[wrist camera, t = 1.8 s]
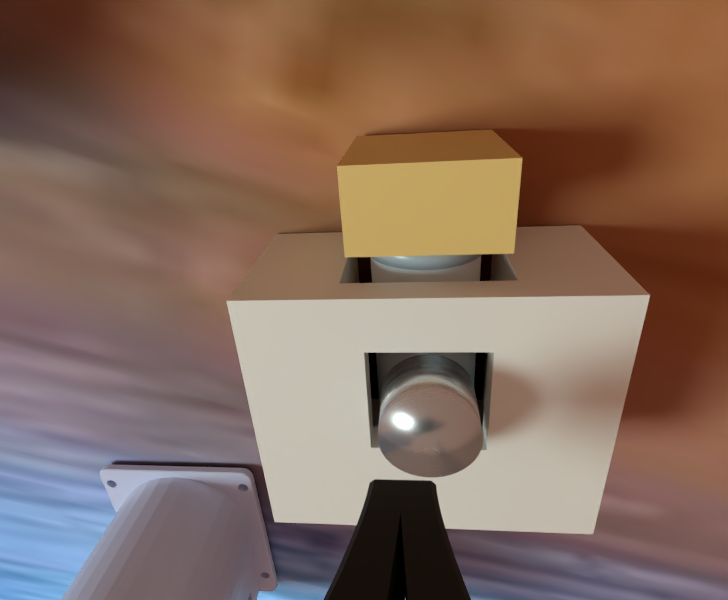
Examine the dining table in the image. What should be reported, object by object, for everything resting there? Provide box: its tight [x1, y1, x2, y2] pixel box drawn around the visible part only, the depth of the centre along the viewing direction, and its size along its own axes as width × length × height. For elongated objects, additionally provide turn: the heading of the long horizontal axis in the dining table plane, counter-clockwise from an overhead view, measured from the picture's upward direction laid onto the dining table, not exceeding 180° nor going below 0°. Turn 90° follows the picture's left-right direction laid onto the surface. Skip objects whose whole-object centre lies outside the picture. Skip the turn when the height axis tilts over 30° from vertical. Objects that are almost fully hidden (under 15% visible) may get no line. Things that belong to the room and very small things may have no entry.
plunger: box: [378, 354, 483, 477], centre depth 14 cm, size 3×3×2 cm
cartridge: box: [337, 129, 523, 411], centre depth 16 cm, size 10×4×5 cm, turn 3°
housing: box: [227, 225, 650, 534], centre depth 17 cm, size 9×11×6 cm
